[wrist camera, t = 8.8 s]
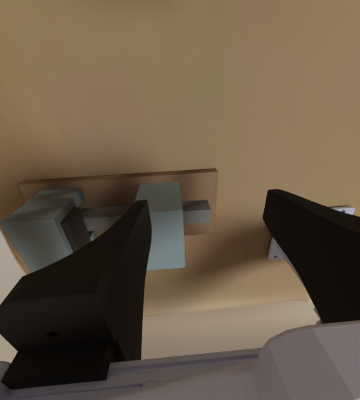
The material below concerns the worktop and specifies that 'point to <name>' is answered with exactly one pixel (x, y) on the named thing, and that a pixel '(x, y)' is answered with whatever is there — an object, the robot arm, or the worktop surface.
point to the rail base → (130, 190)
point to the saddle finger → (164, 224)
